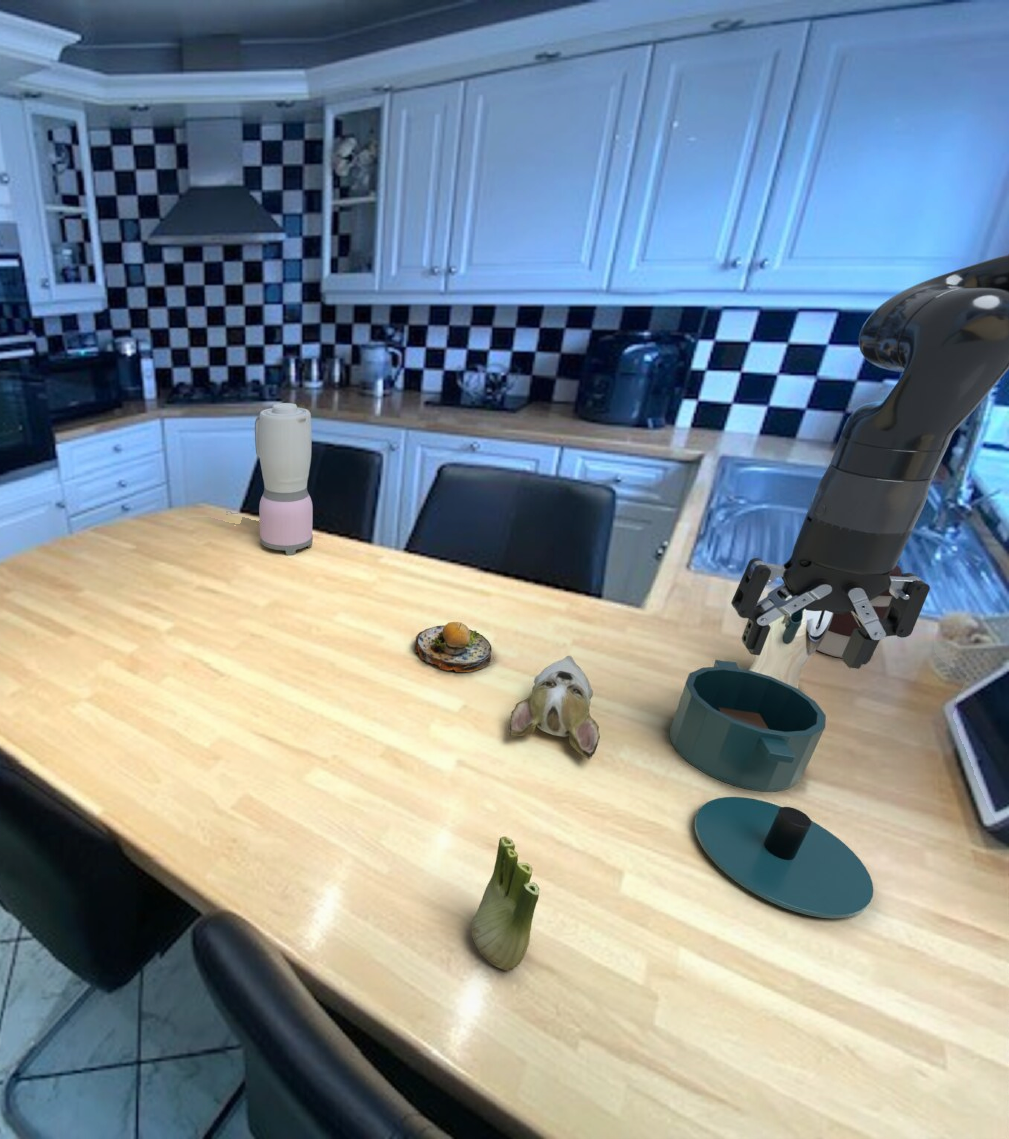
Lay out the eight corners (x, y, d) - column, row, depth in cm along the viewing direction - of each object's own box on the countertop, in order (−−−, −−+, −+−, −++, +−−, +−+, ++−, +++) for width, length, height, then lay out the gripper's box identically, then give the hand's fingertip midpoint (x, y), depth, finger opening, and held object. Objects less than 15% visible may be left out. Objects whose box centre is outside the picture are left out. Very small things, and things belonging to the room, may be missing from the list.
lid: (827, 820, 70) (848, 780, 67) (902, 941, 57) (931, 898, 55) (677, 792, 74) (691, 753, 71) (716, 898, 62) (734, 856, 59)
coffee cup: (802, 624, 106) (835, 544, 100) (880, 648, 99) (921, 563, 93) (786, 646, 101) (820, 562, 94) (867, 672, 94) (910, 584, 87)
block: (748, 740, 81) (759, 713, 79) (761, 764, 77) (773, 736, 75) (707, 734, 82) (717, 707, 80) (718, 757, 78) (729, 729, 76)
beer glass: (812, 700, 88) (853, 608, 82) (757, 696, 89) (793, 605, 83) (782, 671, 95) (818, 584, 88) (731, 668, 96) (763, 582, 89)
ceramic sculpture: (615, 655, 84) (605, 724, 73) (602, 704, 89) (591, 777, 78) (531, 636, 90) (510, 698, 79) (523, 684, 94) (502, 749, 83)
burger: (494, 641, 105) (500, 603, 101) (486, 680, 95) (493, 639, 92) (422, 628, 109) (425, 590, 106) (408, 663, 100) (411, 623, 97)
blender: (324, 544, 144) (326, 404, 130) (285, 560, 137) (284, 414, 123) (277, 527, 155) (275, 396, 141) (240, 540, 148) (234, 404, 134)
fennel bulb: (525, 987, 55) (549, 896, 50) (466, 968, 56) (483, 877, 51) (524, 928, 60) (546, 840, 54) (471, 912, 61) (487, 824, 56)
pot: (766, 715, 86) (787, 664, 82) (832, 820, 70) (862, 762, 66) (654, 698, 90) (669, 649, 86) (691, 793, 74) (712, 738, 70)
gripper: (933, 509, 60) (865, 650, 67) (756, 496, 65) (711, 629, 72) (983, 538, 54) (903, 690, 61) (784, 522, 58) (731, 665, 65)
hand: (799, 657), depth 66 cm, fingers open, 8 cm apart
